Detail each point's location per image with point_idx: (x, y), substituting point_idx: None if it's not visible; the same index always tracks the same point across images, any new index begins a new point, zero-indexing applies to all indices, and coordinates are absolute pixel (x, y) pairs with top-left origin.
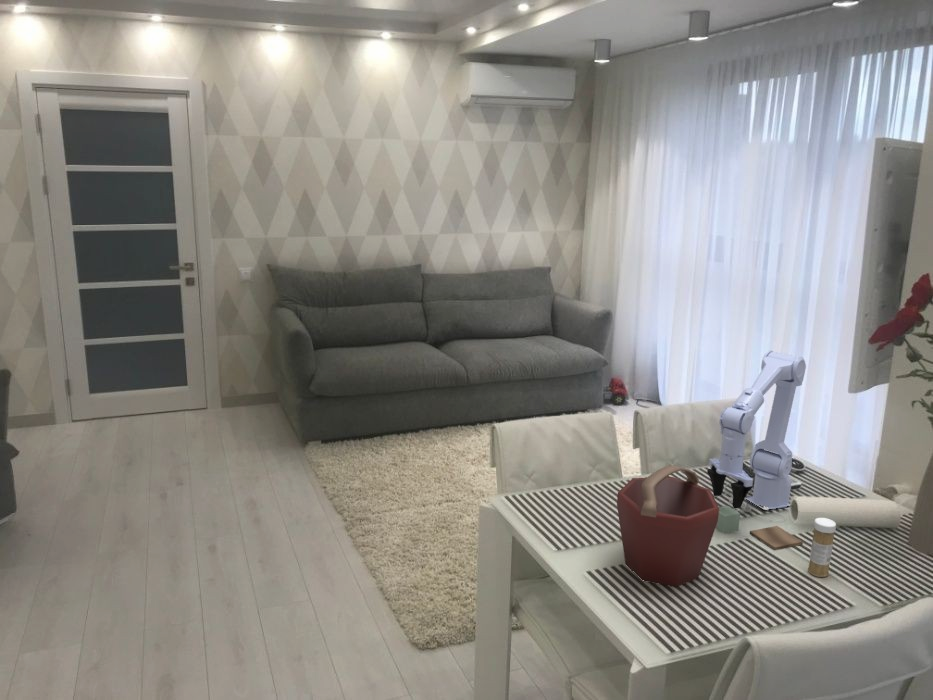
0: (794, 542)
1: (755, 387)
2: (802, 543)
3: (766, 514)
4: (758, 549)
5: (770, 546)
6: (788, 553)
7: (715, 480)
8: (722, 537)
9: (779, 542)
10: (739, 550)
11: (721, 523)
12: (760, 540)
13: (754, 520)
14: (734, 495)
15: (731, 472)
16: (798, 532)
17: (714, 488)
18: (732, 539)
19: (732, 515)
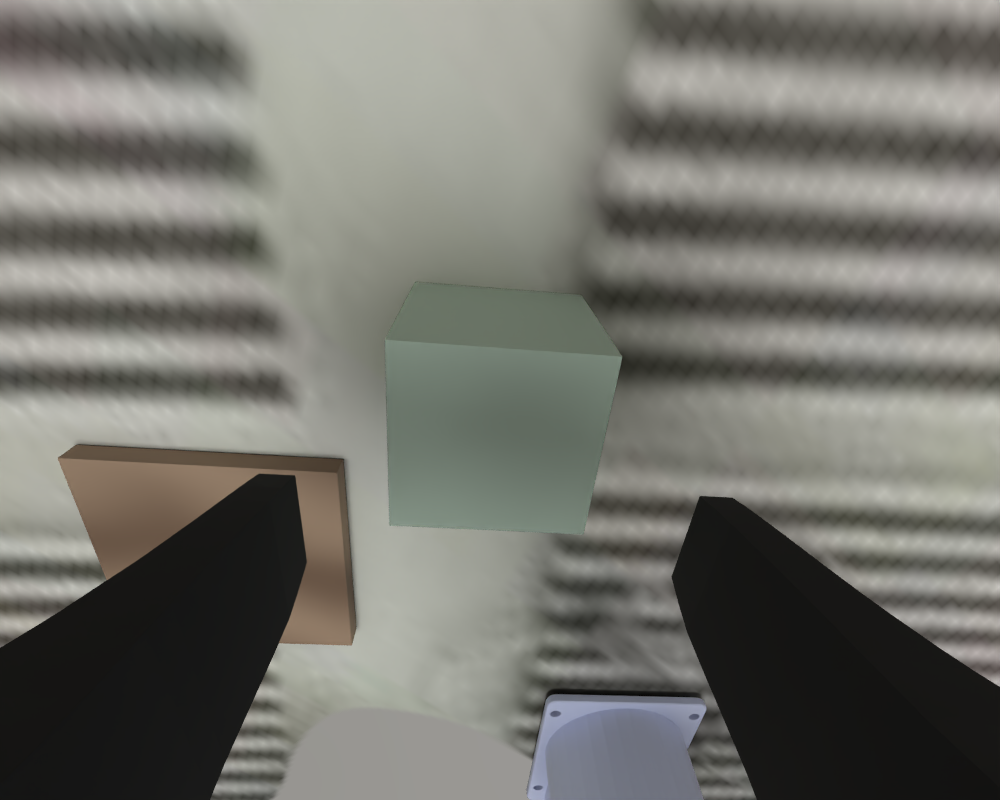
0: None
1: None
2: None
3: (518, 679)
4: (99, 353)
5: (115, 452)
6: (28, 492)
7: (929, 788)
8: (354, 223)
9: (132, 529)
10: (91, 185)
11: (437, 307)
12: (223, 455)
13: (490, 595)
14: (39, 665)
15: None
16: (284, 680)
17: (787, 582)
18: (298, 281)
19: (387, 438)
